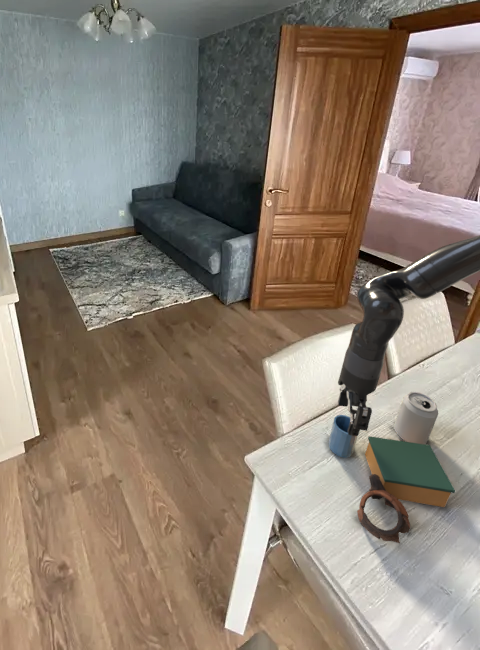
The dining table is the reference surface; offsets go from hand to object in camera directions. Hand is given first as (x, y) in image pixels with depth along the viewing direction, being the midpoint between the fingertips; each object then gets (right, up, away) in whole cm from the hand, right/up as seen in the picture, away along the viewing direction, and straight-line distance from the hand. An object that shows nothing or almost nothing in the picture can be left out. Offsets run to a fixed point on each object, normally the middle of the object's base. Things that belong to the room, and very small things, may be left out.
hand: (347, 419), depth 83 cm
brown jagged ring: (+1, -15, -11) cm, 19 cm away
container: (+11, -12, -4) cm, 17 cm away
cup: (0, -9, +4) cm, 10 cm away
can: (+20, -8, +7) cm, 23 cm away
